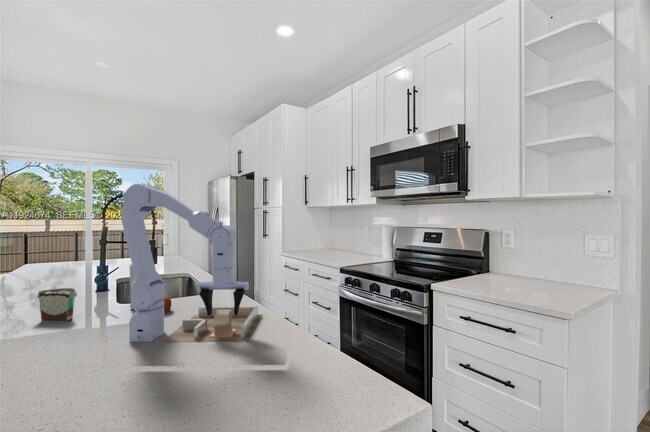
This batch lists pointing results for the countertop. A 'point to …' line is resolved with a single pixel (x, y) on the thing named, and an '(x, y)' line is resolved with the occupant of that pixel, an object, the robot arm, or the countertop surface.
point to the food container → (57, 304)
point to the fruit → (167, 304)
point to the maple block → (223, 322)
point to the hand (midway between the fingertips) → (223, 314)
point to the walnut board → (237, 323)
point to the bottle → (132, 276)
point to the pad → (224, 335)
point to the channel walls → (201, 324)
